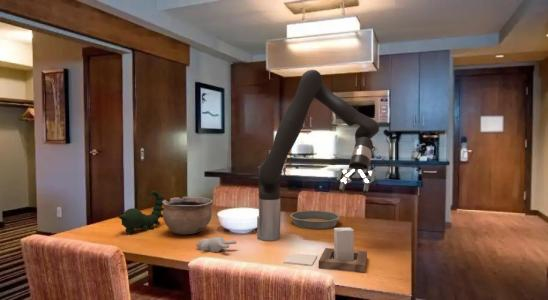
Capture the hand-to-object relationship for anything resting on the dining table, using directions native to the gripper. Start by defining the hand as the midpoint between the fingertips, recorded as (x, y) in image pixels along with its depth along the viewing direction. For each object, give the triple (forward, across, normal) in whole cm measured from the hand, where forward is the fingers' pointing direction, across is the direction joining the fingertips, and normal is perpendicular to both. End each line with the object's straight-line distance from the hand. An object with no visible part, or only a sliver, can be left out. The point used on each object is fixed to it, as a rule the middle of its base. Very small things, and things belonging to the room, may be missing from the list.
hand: (353, 192), depth 141 cm
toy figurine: (+23, -97, +9) cm, 100 cm away
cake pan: (-11, -30, +44) cm, 54 cm away
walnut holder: (+25, 0, +8) cm, 26 cm away
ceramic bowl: (+19, -75, +14) cm, 78 cm away
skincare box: (+25, 0, +8) cm, 26 cm away
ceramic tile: (+27, -15, +5) cm, 31 cm away
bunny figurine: (+30, -48, +2) cm, 57 cm away
